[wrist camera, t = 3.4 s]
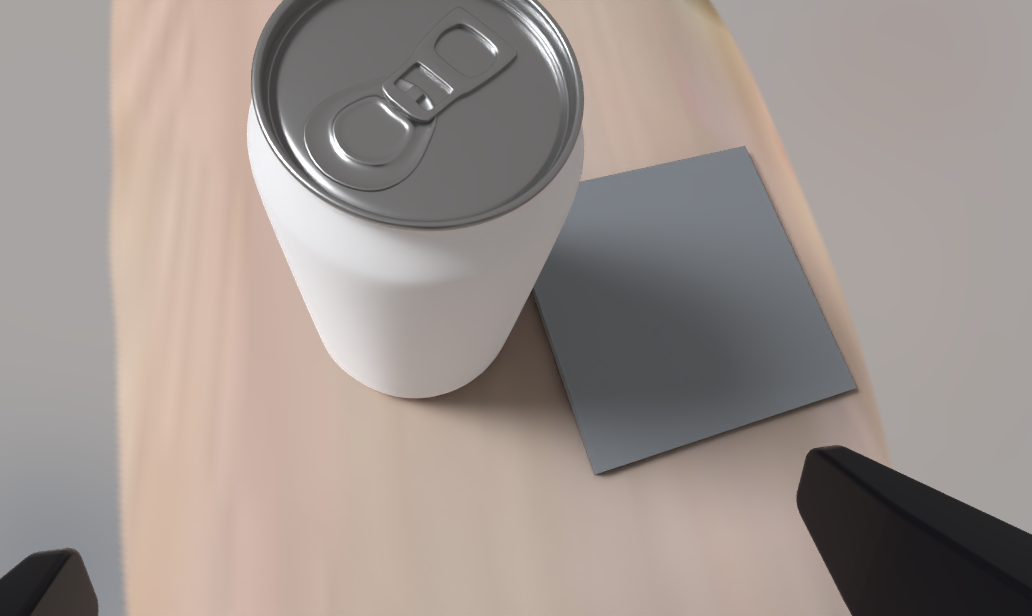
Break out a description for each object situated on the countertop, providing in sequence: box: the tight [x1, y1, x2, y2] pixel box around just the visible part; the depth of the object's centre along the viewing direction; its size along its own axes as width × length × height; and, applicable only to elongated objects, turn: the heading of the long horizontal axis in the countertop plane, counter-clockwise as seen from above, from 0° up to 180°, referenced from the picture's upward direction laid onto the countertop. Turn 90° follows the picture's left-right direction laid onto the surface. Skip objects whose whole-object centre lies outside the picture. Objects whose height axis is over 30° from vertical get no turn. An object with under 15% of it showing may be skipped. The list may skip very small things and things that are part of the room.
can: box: [247, 0, 584, 398], centre depth 17 cm, size 6×6×12 cm
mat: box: [532, 146, 857, 475], centre depth 24 cm, size 10×10×1 cm
